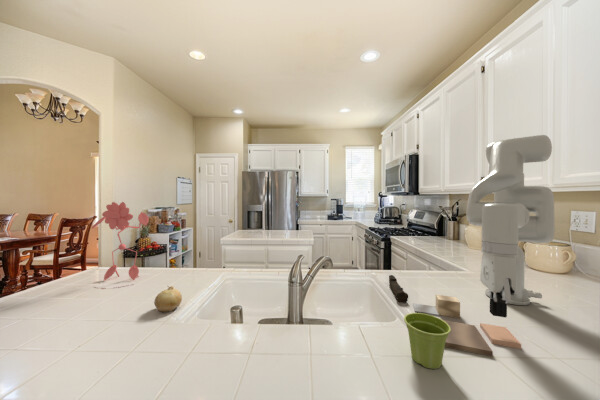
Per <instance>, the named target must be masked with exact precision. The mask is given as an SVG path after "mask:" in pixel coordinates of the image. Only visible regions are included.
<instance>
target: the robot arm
mask: <svg viewBox="0 0 600 400" xmlns="http://www.w3.org/2000/svg"><path fill="white" fill-rule="evenodd" d="M552 149H553V146H552V141H551V138H550V137H549V136H548V135H546V134H541V135H539V134H538V135H531V136H523V137H517V138H515V137H514V138H508V139H501V140H497V141H494V142H493V141H492V142H491V143H489V144H488V145H487V146H486V147H485V156H486V160H487V163H488V171H487V173H488V174H487V176H486V177H484V178H483V179H481V180H480V181H479V182H477V183H476V184H475V185H474V187H473V188H472V189H471V190H470V192H469V195H468V197H467V198H468V199H467V205H466V211H465V213H466V216H465V217H466V220H467V222H468V223H469V224H471V225H473V226H477V227H481V252H482V256H481V262H480V280H479V281H480V282H481V284H482V285H483V286H485V287H486V288H487V289H485V290H484V294H485V295H486V296H487V297H489V313H490V314H491V315H492V316H493V317H500V318H507V316H508V304H510V305H514V306H528V305H530V304H531V300H530V299H531V298H535V299H543V294H542V293H541V292H537V291H535V292H534V291H533V290H529V289H526V288H525V269H526V268H525V264H526V263H525V259H526V257H525V253H524V250H523V249H522V248H521V247H520V246H519V242H525V243H533V244H534V243H535V244H549V243H551V242H552V241H554V238H555V228H556V227H555V197H554V194H553V191H552V189H550V188H549V187H547V186H544V185H543V186H542V185H534V186H532V185H529V186H528V185H527V186H526V185H525V173H524V164H527V163H539V162H540V163H541V162H542V163H543V162H546V161H547V160H549V159H550V157H551V156H552V151H553V150H552ZM491 194H493V195H494V196H493V202H492V201H481V200H482V199H484V198H485V197H486V196H489V195H491ZM530 213H532V214H535V215H530Z"/></svg>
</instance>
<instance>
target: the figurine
mask: <svg viewBox="0 0 600 400" xmlns="http://www.w3.org/2000/svg"><path fill="white" fill-rule="evenodd" d="M101 216H102V217H101V218H99V219H98V220H97V221H96V222H95V223H94V224H93V225H92V227H91V229H94V228H96V227H97V226H99V225H100V224H101V223H103V222H104V223H105V224H106V225H107V224H108V226H109V229H110V230H114V229H115V230H116V231H118V230H119V231H118V232H117V237H118V240H119V243H120V244H119V245H118V247H117V248H116V249H114V250H113V251H112V252H111V254H112V255H111V257H112V265H111V266H110V267H109V268H108V270H106V272H105V274H104V277H103V280H104V281H106V280H108V279H109V278H111V277H112V276H113V275H114V274H115V273H116V276H117V277H120V274H119V273H118V270H117V269H118V266H117V264H114V263H115V261H114V252H116V251H117V250H120V251H124V250H128V251H131V252H135V258H134V261H133V265H132V266H130V267H129V270H128V276H129V277H130V279H131V280H133V281H135V280H136V278H139V272H140V270H139V267H138V265H136V261H137V255H138V251H135V250H132V249H130V248H127V245H126V244H125V243H122V240H121V237H120V233H122V232H123V231H124V230H126V229H128V228H134V229H141V225H143V226H146V227H147V226H148V223H149V222H150V221H149V220H150V219H149V215H148V214H146V212H140V213H139V214H138V217H137V220H138V222H139V225H138V226H134V225H133V226H131V225H130V222H129V221H130V220H132V219H133V218H134V215H133V214H131V213H130V207H127V205H126V202H125V201H122V202H120V203H119V204H118V203H117V202H115V201H112V202H111V204H106V210H105V211H103V212H102V213H101ZM133 285H134V283H132V284H131V286H133ZM128 286H130V285H129V284H128V285H127V287H128ZM124 287H125V285H124V286H116V287H114V289H119V288H124ZM94 288H95V289H97V287H96V286H94ZM102 290H105V287H102Z"/></svg>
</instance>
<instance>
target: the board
mask: <svg viewBox="0 0 600 400" xmlns="http://www.w3.org/2000/svg"><path fill="white" fill-rule="evenodd" d="M442 320H443V321H445V322H446V323H447V324H448V325H449V326H450V328H451V331H450V333H449V334H448V337H447V339H446V342H445V348H449V349H454V350H460V351H464V352H469V353H474V354H479V355H483V356H489V357H493V356H494V355H493V354H494V351H493V350H492V348H491V347H490V345H489V344H488V342H487V341H486V340H485V338H484V337H483V336H482V334H481V333H480V331H479V330H478V328H477V327H476V326H475V325H474V324H468V323H462V322H457V321H451V320H445V319H442Z"/></svg>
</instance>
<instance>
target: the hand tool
mask: <svg viewBox="0 0 600 400" xmlns="http://www.w3.org/2000/svg"><path fill="white" fill-rule="evenodd" d="M388 281H389V282H388V283H389V288H390V289H391V290H392V292H393V294H394V296H395V297H396V301H397V303H402V302H404V304H405V303H407V302H408V300H409V294H408V293H407V292H406V291H404V288H403V287H402V286H401V285H400V284H399V283H398V281H397V278H396V277H395V275H392V274H391V275H390V274H389V275H388Z"/></svg>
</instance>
